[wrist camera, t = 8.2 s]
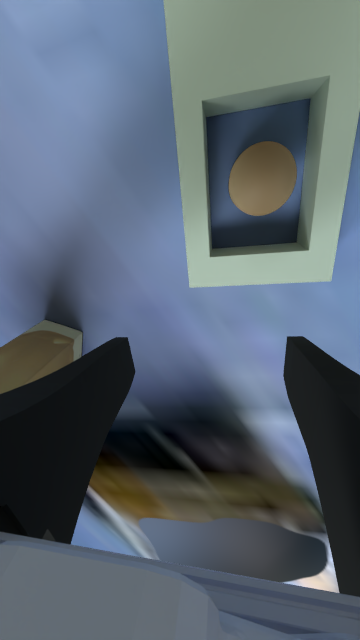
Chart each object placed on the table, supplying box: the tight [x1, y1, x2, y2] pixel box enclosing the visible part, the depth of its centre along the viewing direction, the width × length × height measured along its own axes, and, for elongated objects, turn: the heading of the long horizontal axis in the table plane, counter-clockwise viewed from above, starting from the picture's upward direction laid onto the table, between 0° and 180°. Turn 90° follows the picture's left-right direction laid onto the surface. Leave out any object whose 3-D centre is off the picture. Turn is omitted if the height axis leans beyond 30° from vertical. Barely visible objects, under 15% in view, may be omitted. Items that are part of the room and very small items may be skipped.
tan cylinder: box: [229, 141, 297, 216], centre depth 15 cm, size 3×3×4 cm
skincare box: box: [0, 320, 82, 394], centre depth 20 cm, size 6×4×12 cm
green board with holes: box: [164, 0, 360, 288], centre depth 12 cm, size 9×24×3 cm, turn 6°
